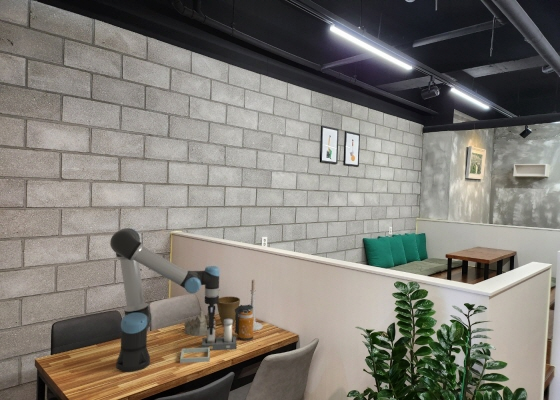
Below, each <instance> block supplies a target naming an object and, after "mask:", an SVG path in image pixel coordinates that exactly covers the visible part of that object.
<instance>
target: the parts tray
mask: <svg viewBox="0 0 560 400" xmlns="http://www.w3.org/2000/svg"><path fill="white" fill-rule="evenodd" d="M194 353H195V354H196V353H198V354H199V353H207V356H198V357H195V356H194V357H184V354H194ZM210 355H211V352H210V347H209V348H202V347H193V348H192V347H191V348H181V352H180V356H179V357H180V359H179V364H187V365H191V364H192V363H206V364H209V362H210V357H211V356H210ZM207 362H208V363H207ZM189 363H190V364H189Z"/></svg>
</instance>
